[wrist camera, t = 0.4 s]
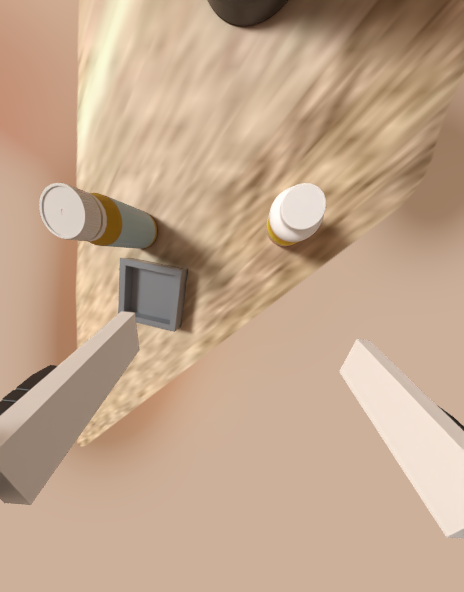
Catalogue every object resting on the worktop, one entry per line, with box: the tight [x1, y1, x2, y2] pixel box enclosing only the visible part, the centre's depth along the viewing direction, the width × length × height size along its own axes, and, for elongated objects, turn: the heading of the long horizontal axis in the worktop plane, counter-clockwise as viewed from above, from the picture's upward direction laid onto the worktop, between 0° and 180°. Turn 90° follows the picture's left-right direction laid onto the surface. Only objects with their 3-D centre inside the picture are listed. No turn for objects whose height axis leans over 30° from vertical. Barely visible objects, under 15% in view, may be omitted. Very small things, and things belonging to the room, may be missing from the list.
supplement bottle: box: [266, 183, 326, 246], centre depth 25 cm, size 7×7×13 cm
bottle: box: [39, 183, 157, 248], centre depth 28 cm, size 7×7×15 cm
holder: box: [118, 258, 188, 332], centre depth 36 cm, size 12×12×3 cm
